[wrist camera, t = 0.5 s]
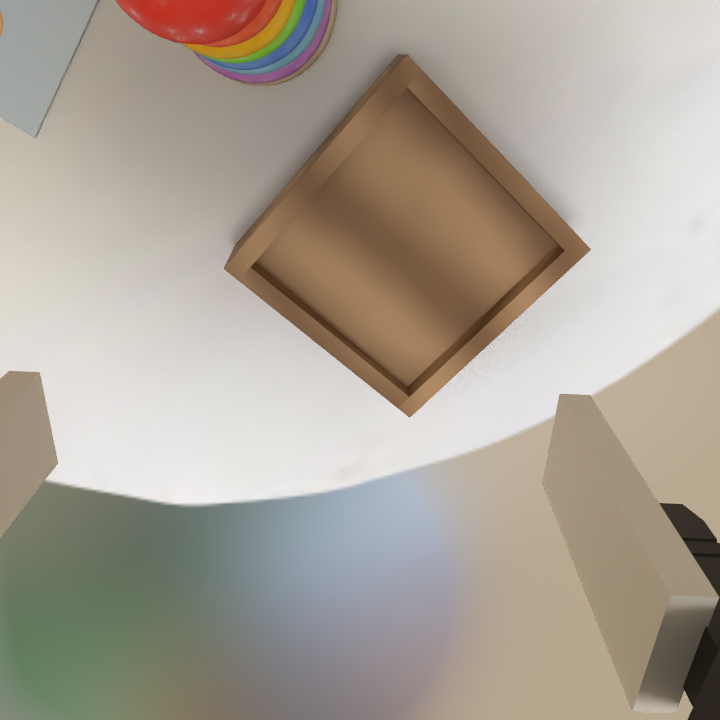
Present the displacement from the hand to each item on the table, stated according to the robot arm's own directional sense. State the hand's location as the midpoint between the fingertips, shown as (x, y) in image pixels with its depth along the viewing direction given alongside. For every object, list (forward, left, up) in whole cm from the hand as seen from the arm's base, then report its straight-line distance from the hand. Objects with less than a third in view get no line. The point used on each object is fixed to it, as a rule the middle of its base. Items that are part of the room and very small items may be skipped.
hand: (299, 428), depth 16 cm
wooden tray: (-3, +5, -23) cm, 24 cm away
